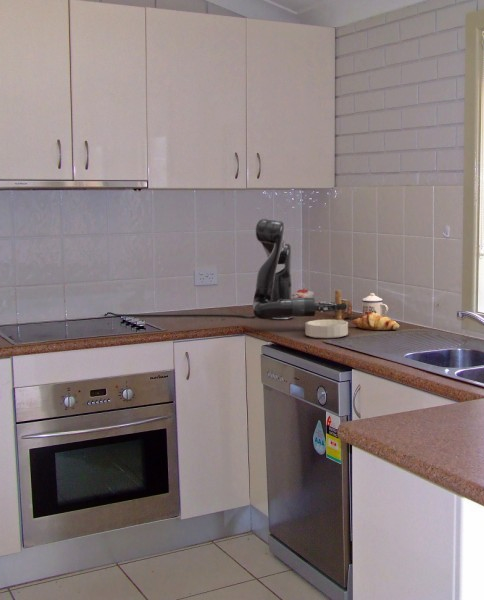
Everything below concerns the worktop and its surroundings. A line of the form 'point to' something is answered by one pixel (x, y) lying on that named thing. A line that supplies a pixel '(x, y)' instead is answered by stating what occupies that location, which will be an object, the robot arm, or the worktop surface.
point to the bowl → (326, 328)
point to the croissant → (375, 322)
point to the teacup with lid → (373, 305)
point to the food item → (303, 294)
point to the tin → (347, 312)
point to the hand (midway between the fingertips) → (345, 306)
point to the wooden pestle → (338, 301)
